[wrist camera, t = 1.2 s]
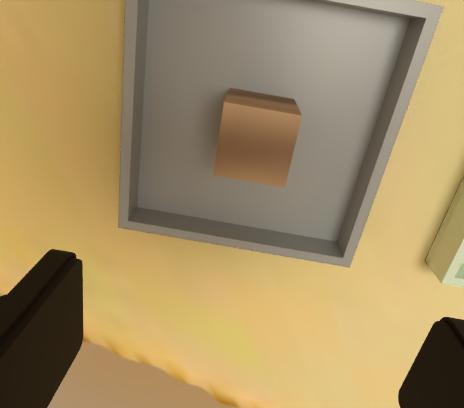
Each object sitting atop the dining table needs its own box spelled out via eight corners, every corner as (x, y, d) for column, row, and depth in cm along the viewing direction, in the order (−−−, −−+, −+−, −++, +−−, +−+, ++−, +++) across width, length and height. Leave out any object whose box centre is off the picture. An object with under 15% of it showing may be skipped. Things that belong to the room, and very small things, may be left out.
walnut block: (230, 87, 29) (224, 101, 24) (294, 99, 29) (302, 115, 24) (221, 149, 31) (213, 175, 26) (280, 159, 31) (284, 187, 26)
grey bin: (143, -42, 26) (127, -51, 23) (421, 8, 27) (443, 6, 23) (130, 209, 35) (118, 227, 32) (341, 245, 35) (349, 267, 32)
